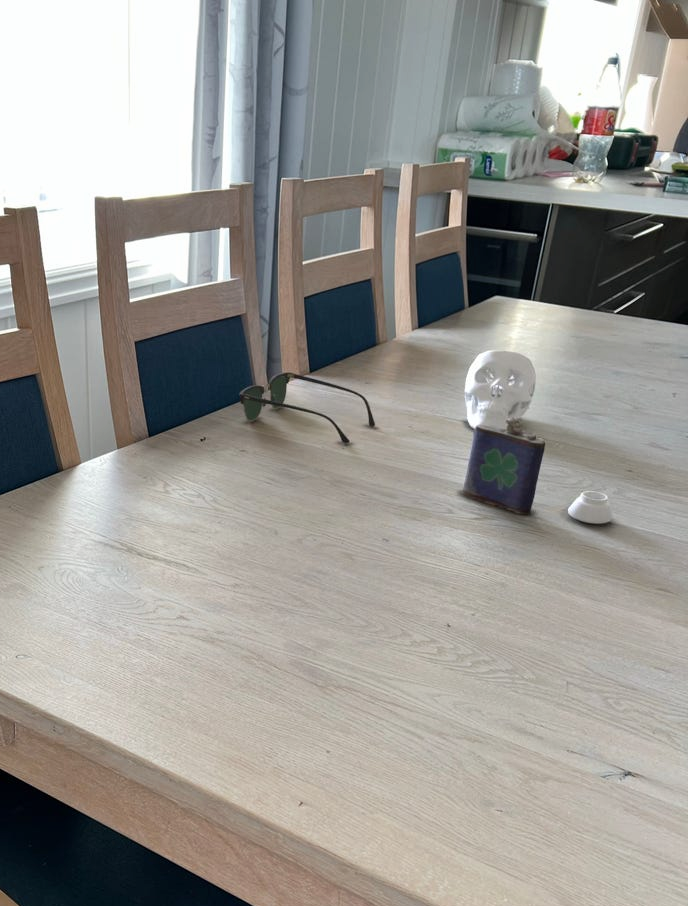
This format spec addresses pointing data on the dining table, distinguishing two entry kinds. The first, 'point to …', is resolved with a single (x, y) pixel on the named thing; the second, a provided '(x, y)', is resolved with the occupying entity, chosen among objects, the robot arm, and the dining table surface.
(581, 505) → the small white bowl
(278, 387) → the sunglasses
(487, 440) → the flask
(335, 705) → the dining table surface
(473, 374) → the skull bowl
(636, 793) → the dining table surface
